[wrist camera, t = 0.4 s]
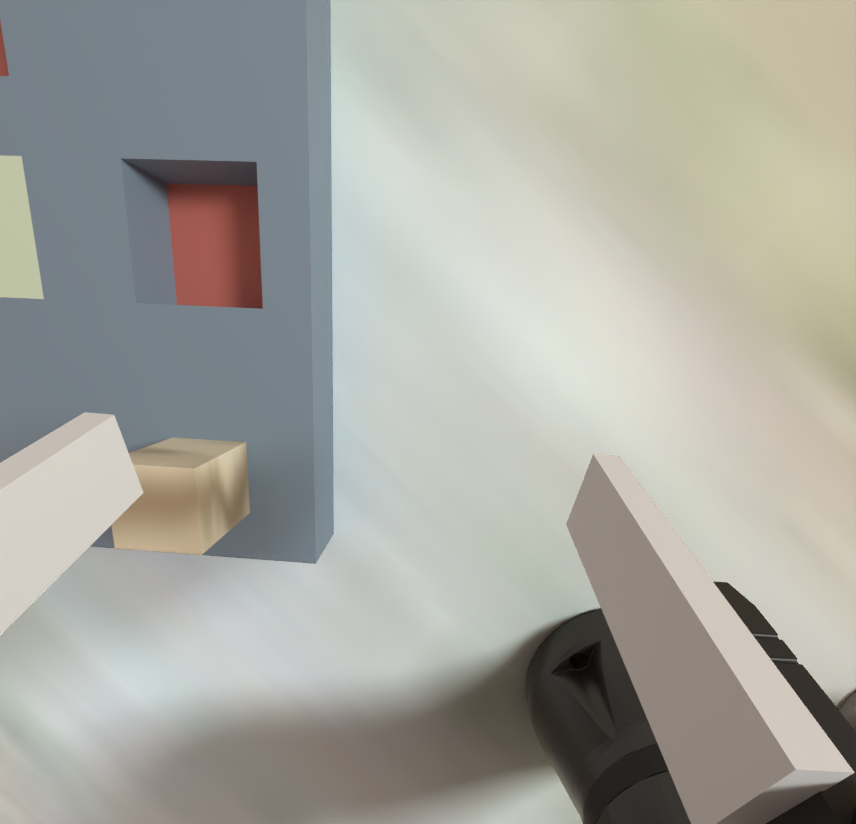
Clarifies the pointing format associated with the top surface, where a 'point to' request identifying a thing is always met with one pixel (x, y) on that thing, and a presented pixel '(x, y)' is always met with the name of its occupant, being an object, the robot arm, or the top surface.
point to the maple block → (185, 496)
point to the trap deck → (174, 239)
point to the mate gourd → (850, 710)
